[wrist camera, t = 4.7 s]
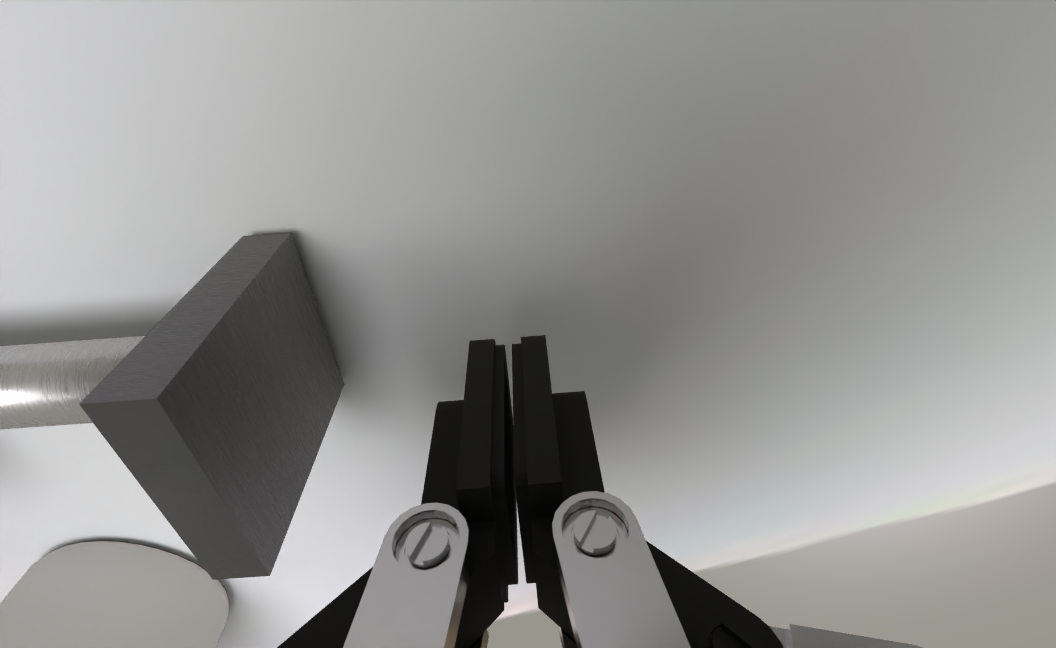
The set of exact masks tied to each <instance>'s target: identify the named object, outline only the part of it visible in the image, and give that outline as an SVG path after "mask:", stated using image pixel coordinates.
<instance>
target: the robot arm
mask: <svg viewBox="0 0 1056 648" xmlns="http://www.w3.org/2000/svg"><path fill="white" fill-rule="evenodd" d="M512 372H513V416H512V407H511V398H510V389H509V380H508V371H507V362H506V352H505V345H496V344H495V340H494V339H488V340H475V341H470V343H469V353H468V363H467V374H466V384H465V395H464V400H458V401H445V402H439V403H438V404H437V408H436V414H435V420H434V427H433V433H432V439H431V446H430V452H429V458H428V465H427V471H426V477H425V484H424V490H423V496H422V503H421V505H419V506H416V507H413V508H411V509H409V510H408V511H406V512H404V513H403V514H401V515H400V516H399V517H398V518H397V519H396V520H395V521H394V522H393V523H392V524H391V526H390V528H389V530H388V531H387V533H386V535H385V537H384V540H383V542H382V545H381V548H380V550H379V553H378V556H377V558H376V561H375V564H374V566H373V567H372V568H371V569H370V570H369V571H367V572H366V573H365V574H364V575H363V576H361V577H360V578H359V579H358V580H357V581H356V582H354V583H353V584H352V585H351V586H350V587H348V588H347V589H346V590H345V591H344V592H343V593H341V594H340V595H339V596H338V597H337V598H335V599H334V600H333V601H332V602H331V603H329V604H328V605H327V606H326V607H325V608H324V609H322V610H321V611H320V612H319V613H318V614H316V615H315V616H314V617H313V618H312V619H311V620H309V621H308V622H307V623H306V624H305V625H303V626H302V627H301V628H300V629H299V630H298V631H296V632H295V633H294V634H293V635H292V636H290V637H289V638H288V639H287V640H286V641H284V642H283V643H282V644H281V645H280V646H279V647H277V648H487V644H488V638H489V626H490V625H491V624H492V623H493V622H494V621H495V620H496V618H497V617H498V616H499V615H500V614H501V613H502V612H503V611H504V602H508V585H512V584H518V551H517V507H518V515H519V524H520V532H521V541H522V549H523V557H524V566H525V574H526V582H527V583H536V588H537V598H538V608H539V609H540V610H542V611H543V612H544V613H545V614H546V615H547V616H548V617H549V618H551V619H552V620H553V621H554V622H555V623H556V624H557V625H558V626H559V634H560V639H561V643H562V647H563V648H923V647H920V646H917V645H912V644H906V643H900V642H894V641H889V640H883V639H876V638H871V637H865V636H859V635H853V634H847V633H841V632H834V631H829V630H823V629H817V628H811V627H805V626H799V625H793V624H789V626H788V628H787V629H782V628H776V627H771V626H768V625H767V624H765V623H764V622H763V621H762V620H761V619H760V618H758V617H757V616H756V615H755V614H753V613H752V612H750V611H749V610H747V609H746V608H744V607H743V606H741V605H740V604H738V603H737V602H735V601H734V600H732V599H731V598H730V597H728V596H727V595H725V594H724V593H722V592H721V591H719V590H718V589H716V588H715V587H713V586H712V585H710V584H709V583H707V582H706V581H705V580H703V579H702V578H700V577H699V576H697V575H696V574H694V573H693V572H691V571H690V570H688V569H687V568H685V567H684V566H682V565H681V564H680V563H678V562H677V561H675V560H674V559H672V558H671V557H669V556H668V555H666V554H665V553H663V552H662V551H660V550H659V549H657V548H656V547H655V546H653V545H652V544H650V543H649V542H647V541H646V540H645V538H644V535H643V533H642V531H641V528H640V526H639V523H638V521H637V519H636V517H635V515H634V514H633V512H632V510H631V509H630V507H629V506H627V505H626V504H625V503H624V502H623V501H622V500H621V499H619V498H617V497H615V496H613V495H611V494H608V493H605V492H604V487H603V482H602V477H601V472H600V467H599V461H598V456H597V451H596V446H595V441H594V436H593V430H592V425H591V420H590V415H589V410H588V405H587V399H586V395H585V392H584V391H581V392H567V393H554V394H552V390H551V381H550V372H549V364H548V355H547V346H546V337H545V335H542V336H529V337H521V344H512ZM513 422H514V425H513ZM516 499H517V506H516Z"/></svg>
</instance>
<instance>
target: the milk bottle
mask: <svg viewBox="0 0 1056 648" xmlns="http://www.w3.org/2000/svg"><path fill="white" fill-rule="evenodd" d="M228 614H229V599H228V596H227V594H226V591H225V589H224V588H223V586H222V585H221V584H220V582H219V581H218V580H217V579H214V580H213V579H212V578H211V577H210V575H209V574H208V573H207V571H206V570H204V569H203V568H201V567H199V566H198V565H196V564H195V563H193V562H190V561H188V560H186V559H184V558H182V557H180V556H177V555H174V554H171V553H168V552H165V551H163V550H160V549H155V548H151V547H147V546H143V545H138V544H130V543H123V542H107V541H95V542H81V543H77V544H72V545H67V546H64V547H62V548H59V549H57V550H54V551H52V552H51V553H49V554H48V555H46V556H45V557H43V558H42V559H40V560H38V561H37V562H35V563H34V564H33V565H32V566H31V567H30V568H29V569H28V571H27V572H26V573H25V574H24V575H23V577H22V578H21V579H20V580H19V581H18V583H17V584H16V585H15V586H14V587H13V588H12V590H11V591H10V592H9V593H8V595H7V596H6V597H5V598H4V600H3V601H2V602H1V603H0V648H216V647H217V644H218V642H219V639H220V637H221V634H222V632H223V629H224V627H225V624H226V621H227V619H228Z"/></svg>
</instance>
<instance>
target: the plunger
mask: <svg viewBox="0 0 1056 648" xmlns="http://www.w3.org/2000/svg"><path fill="white" fill-rule="evenodd" d="M343 386H344V382H343V379H342V376H341V373H340V371H339V368H338V365H337V362H336V359H335V356H334V353H333V351H332V348H331V345H330V342H329V339H328V336H327V334H326V331H325V328H324V325H323V322H322V319H321V317H320V314H319V311H318V308H317V305H316V302H315V300H314V297H313V294H312V291H311V288H310V285H309V283H308V280H307V277H306V274H305V271H304V268H303V266H302V263H301V260H300V257H299V254H298V251H297V248H296V246H295V243H294V240H293V237H292V234H291V233H280V234H267V235H253V236H243V237H242V238H241V239H240V240H239V241H238V242H237V243H236V244H235V245H234V246H233V247H232V248H231V249H230V250H229V251H228V252H227V253H226V254H225V255H224V256H223V257H222V258H221V259H220V260H219V261H218V262H217V263H216V264H215V265H214V266H213V267H212V268H211V269H210V270H209V271H208V273H207V274H206V275H205V276H204V277H203V278H202V279H201V280H200V281H199V282H198V283H197V284H196V285H195V286H194V287H193V288H192V289H191V290H190V291H189V292H188V293H187V294H186V295H185V296H184V297H183V298H182V299H181V300H180V301H179V302H178V303H177V304H176V305H175V306H174V307H173V308H172V309H171V310H170V311H169V312H168V313H167V314H166V315H165V316H164V317H163V319H162V320H161V321H160V322H159V323H158V324H157V325H156V326H155V327H154V328H153V329H152V330H151V331H150V332H149V333H148V334H147V335H146V336H136V337H122V338H108V339H94V340H80V341H66V342H52V343H38V344H24V345H10V346H0V429H11V428H25V427H40V426H54V425H68V424H82V423H94V425H95V426H96V427H97V428H98V430H99V431H100V432H101V434H102V435H103V436H104V438H105V439H106V440H107V442H108V443H109V444H110V446H111V447H112V448H113V449H114V451H115V452H116V453H117V455H118V456H119V457H120V459H121V460H122V461H123V463H124V464H125V465H126V466H127V468H128V469H129V470H130V472H131V473H132V474H133V476H134V477H135V478H136V480H137V481H138V482H139V484H140V485H141V486H142V487H143V489H144V490H145V491H146V493H147V494H148V495H149V497H150V498H151V499H152V501H153V502H154V503H155V505H156V506H157V507H158V508H159V510H160V511H161V512H162V514H163V515H164V516H165V518H166V519H167V520H168V522H169V523H170V524H171V526H172V527H173V528H174V529H175V531H176V532H177V533H178V535H179V536H180V537H181V539H182V540H183V541H184V543H185V544H186V545H187V546H188V548H189V549H190V550H191V552H192V553H193V554H194V556H195V557H196V558H197V560H198V561H199V562H200V564H201V565H202V566H203V567H204V569H205V570H206V571H207V573H208V574H209V575H210V577H211V578H212V579H213V580H214V579H228V578H243V577H258V576H270V574H271V572H272V569H273V567H274V564H275V561H276V559H277V556H278V554H279V551H280V549H281V546H282V543H283V541H284V538H285V536H286V533H287V531H288V528H289V525H290V523H291V520H292V518H293V515H294V512H295V510H296V507H297V505H298V502H299V500H300V497H301V494H302V492H303V489H304V487H305V484H306V482H307V479H308V476H309V474H310V471H311V469H312V466H313V464H314V461H315V458H316V456H317V453H318V451H319V448H320V446H321V443H322V440H323V438H324V435H325V433H326V430H327V428H328V425H329V422H330V420H331V417H332V415H333V412H334V410H335V407H336V404H337V402H338V399H339V397H340V394H341V392H342V389H343Z"/></svg>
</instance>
